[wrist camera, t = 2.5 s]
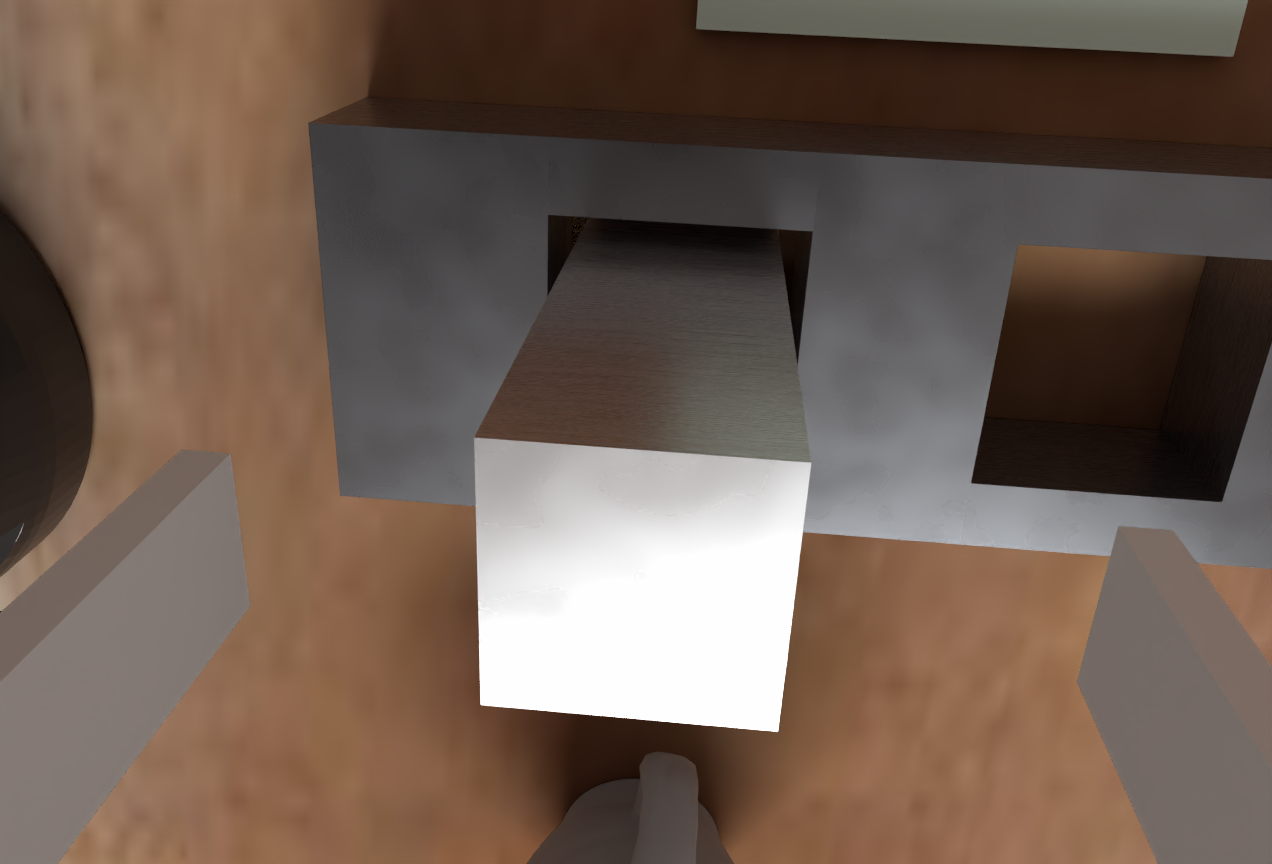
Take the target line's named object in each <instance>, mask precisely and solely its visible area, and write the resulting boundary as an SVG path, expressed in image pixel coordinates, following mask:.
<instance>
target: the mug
mask: <svg viewBox="0 0 1272 864" xmlns="http://www.w3.org/2000/svg"><path fill="white" fill-rule="evenodd" d="M639 767H640V779H620V780H614V781H610V782H606V783H603V784H600V785H598V786H596V787H594V788H592V789H590V790H588V791H587V792H585V793H584V794H582V795H581V796H580V797H579V798H578V799H577V800H576V801H575V802H574V803H573V804H572V806H571V807H570V808H569V810H568V812H567V813H566V815H565V817H564V819H563V821H562V822H561V823H560V825H559V826H558V827H557V828H556V829H555V830H554V831H553V832H552V833H551V834H550V835H549V836H548V837H547V839H546V840H545V841H544V842H543V843H542V844H541V845H540V847H539V848H538V849H537V850H536V852H535V853H534V854H533V856H532V857H531V858H530V860H529V861H528V863H527V864H734V863H733V861H732V860H731V858H730V856H729V855H728V853H727V851H726V850H725V848H724V846H723V844H722V842H721V840H720V837H719V833H718V830H717V827H716V825H715V822H714V820H713V818H712V817H711V815H710V814H709V812H708V811H707V810H706V808H705V807H704V806H703V805H702V804H701V803H700V802H699V801H698V777H697V771H696V766H695V764H693V763H692V762H691V761H690V760H688V759H687V758H686V757H684V756H680V755H676V754H671V753H665V752H658V751H657V752H653V753H650V754H646V756H645V757H644V759H643V761H642V763H641V765H640V766H639Z"/></svg>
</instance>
